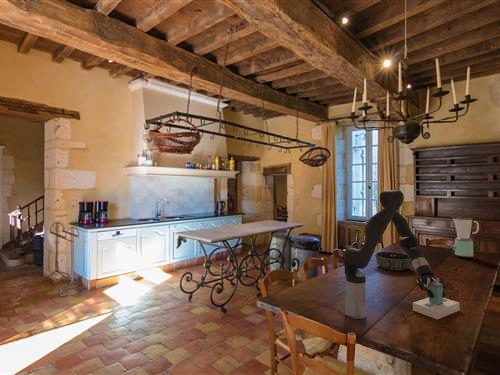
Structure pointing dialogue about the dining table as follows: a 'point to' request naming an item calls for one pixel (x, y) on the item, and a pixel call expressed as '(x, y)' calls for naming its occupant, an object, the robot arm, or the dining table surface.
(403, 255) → the bundt pan
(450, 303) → the block
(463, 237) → the blender
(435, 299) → the plug
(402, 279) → the dining table surface
